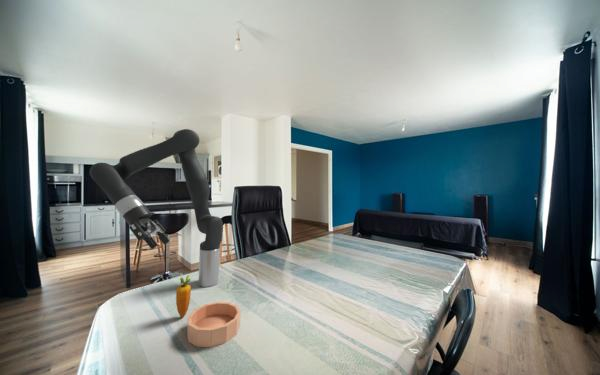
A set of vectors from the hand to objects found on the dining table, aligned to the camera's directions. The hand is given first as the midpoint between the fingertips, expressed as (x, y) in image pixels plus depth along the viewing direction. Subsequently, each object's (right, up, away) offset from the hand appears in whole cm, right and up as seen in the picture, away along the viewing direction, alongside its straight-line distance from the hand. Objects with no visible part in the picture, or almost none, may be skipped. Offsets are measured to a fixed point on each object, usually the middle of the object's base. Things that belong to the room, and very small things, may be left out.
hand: (161, 244), depth 79 cm
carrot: (+8, -26, -1) cm, 28 cm away
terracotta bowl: (+22, -26, -7) cm, 35 cm away
